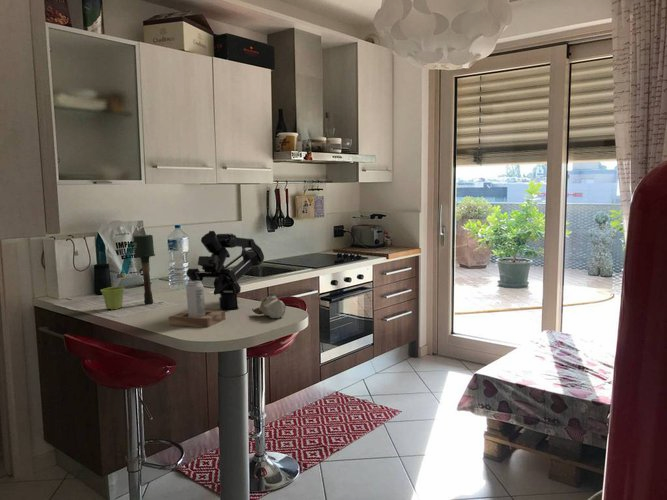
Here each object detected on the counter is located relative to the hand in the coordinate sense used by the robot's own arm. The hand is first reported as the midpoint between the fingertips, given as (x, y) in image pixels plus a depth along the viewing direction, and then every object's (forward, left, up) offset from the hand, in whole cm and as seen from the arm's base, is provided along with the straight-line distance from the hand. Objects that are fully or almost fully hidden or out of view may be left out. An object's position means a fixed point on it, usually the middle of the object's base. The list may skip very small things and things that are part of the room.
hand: (203, 294), depth 199 cm
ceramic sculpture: (-23, +9, -10) cm, 27 cm away
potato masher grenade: (+19, -43, -10) cm, 48 cm away
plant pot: (+33, -41, -10) cm, 54 cm away
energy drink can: (+3, +4, -10) cm, 11 cm away
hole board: (+4, +4, -9) cm, 11 cm away
